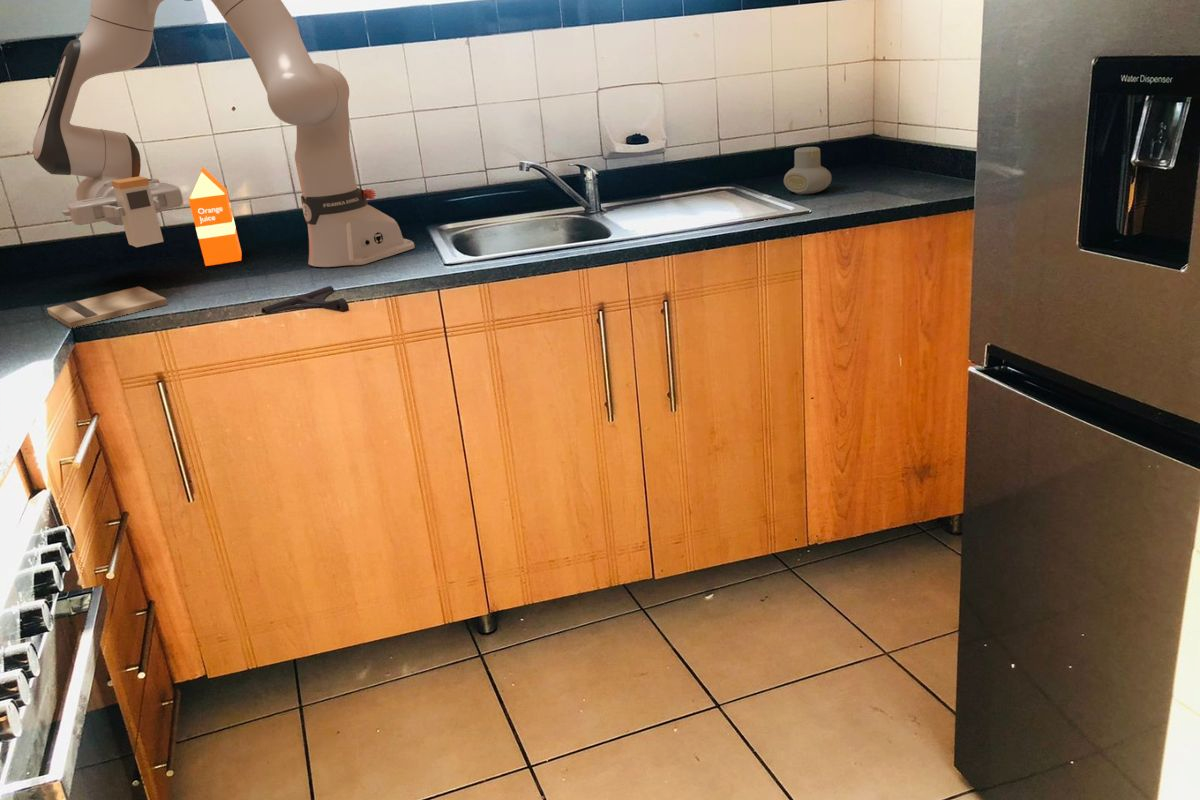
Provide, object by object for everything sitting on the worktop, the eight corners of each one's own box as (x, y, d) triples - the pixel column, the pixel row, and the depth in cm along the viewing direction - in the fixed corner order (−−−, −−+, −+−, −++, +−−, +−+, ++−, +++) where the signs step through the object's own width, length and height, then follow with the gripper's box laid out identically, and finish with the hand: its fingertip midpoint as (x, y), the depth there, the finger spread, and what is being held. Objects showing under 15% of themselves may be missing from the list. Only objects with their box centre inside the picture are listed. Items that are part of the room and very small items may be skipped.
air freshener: (837, 190, 221) (837, 147, 217) (815, 197, 216) (815, 152, 213) (800, 187, 229) (800, 145, 225) (778, 193, 224) (777, 150, 221)
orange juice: (204, 266, 207) (181, 173, 199) (206, 258, 215) (184, 168, 207) (242, 260, 209) (220, 168, 201) (242, 252, 217) (221, 163, 209)
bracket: (312, 327, 158) (308, 311, 157) (262, 316, 167) (258, 300, 166) (380, 304, 168) (377, 288, 167) (329, 294, 177) (327, 280, 176)
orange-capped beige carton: (155, 238, 184) (138, 176, 180) (164, 241, 181) (147, 178, 176) (128, 244, 181) (111, 180, 177) (137, 247, 178) (119, 183, 173)
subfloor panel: (141, 292, 190) (139, 285, 189) (167, 304, 178) (165, 298, 178) (48, 314, 180) (46, 307, 179) (70, 329, 168) (68, 322, 168)
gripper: (54, 195, 180) (73, 202, 171) (164, 177, 192) (187, 182, 182) (64, 228, 183) (83, 237, 173) (172, 208, 195) (195, 214, 185)
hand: (138, 208), depth 178 cm, fingers closed on orange-capped beige carton, 5 cm apart
